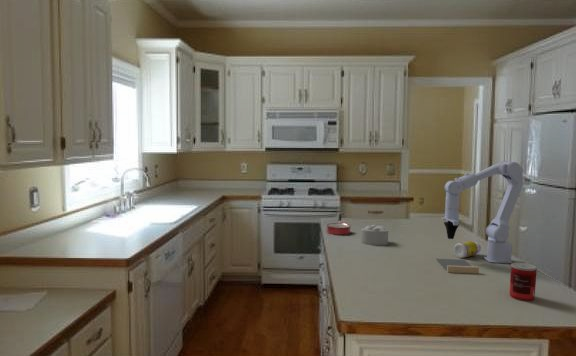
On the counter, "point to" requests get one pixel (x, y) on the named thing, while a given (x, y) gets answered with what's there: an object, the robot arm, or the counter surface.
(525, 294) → the canned food
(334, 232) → the frying pan
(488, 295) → the counter surface
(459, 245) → the supplement bottle
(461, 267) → the mat
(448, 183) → the robot arm
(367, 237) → the lumpy-topped squat cylinder
